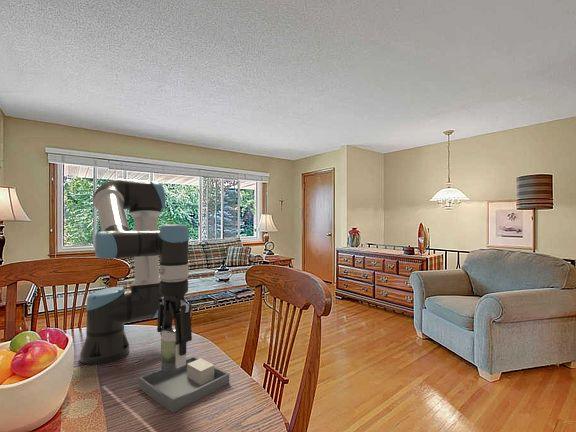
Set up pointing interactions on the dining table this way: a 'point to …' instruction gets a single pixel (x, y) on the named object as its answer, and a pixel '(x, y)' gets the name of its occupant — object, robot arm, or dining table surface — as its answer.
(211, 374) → the cream rectangular block
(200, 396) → the tray
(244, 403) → the dining table surface
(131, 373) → the dining table surface
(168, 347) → the tin can
